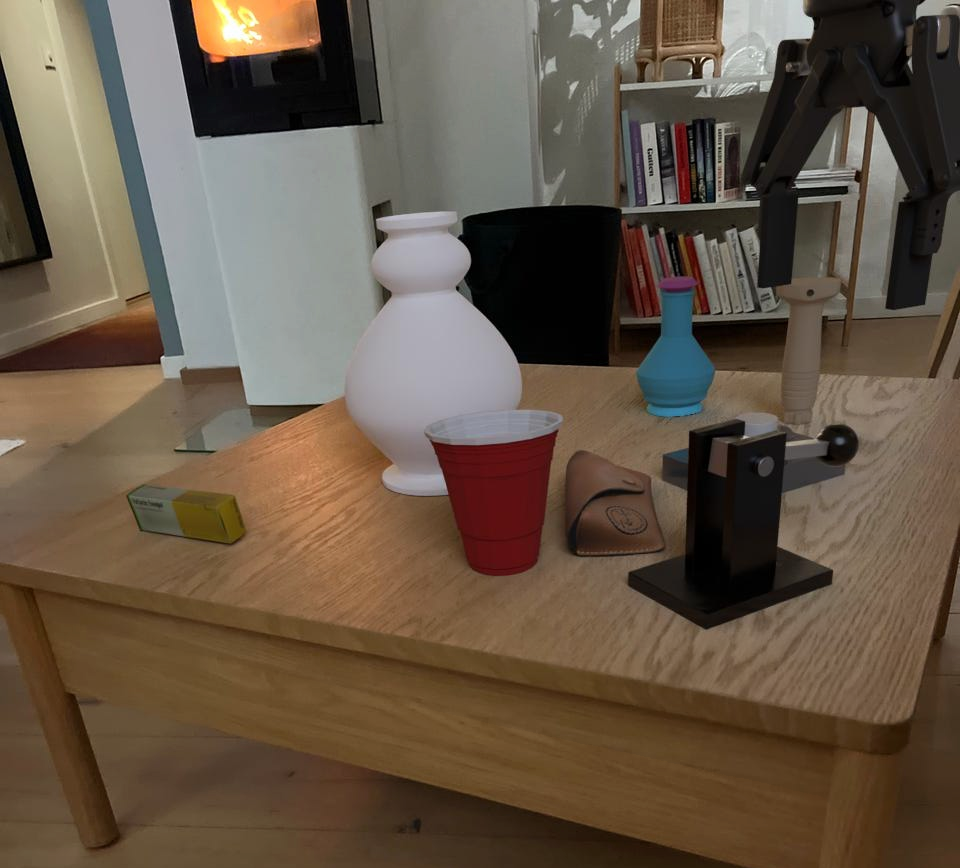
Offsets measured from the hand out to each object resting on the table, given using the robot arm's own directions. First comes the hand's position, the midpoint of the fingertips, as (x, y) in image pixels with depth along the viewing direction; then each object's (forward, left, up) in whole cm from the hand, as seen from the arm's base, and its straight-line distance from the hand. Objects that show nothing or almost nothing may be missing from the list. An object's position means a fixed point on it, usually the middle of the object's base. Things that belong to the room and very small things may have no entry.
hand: (834, 296), depth 68 cm
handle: (-18, -29, -19) cm, 39 cm away
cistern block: (-4, -15, -19) cm, 24 cm away
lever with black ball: (+6, +4, -11) cm, 13 cm away
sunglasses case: (+12, -12, -19) cm, 26 cm away
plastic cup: (+24, -7, -19) cm, 32 cm away
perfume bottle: (-9, -41, -19) cm, 46 cm away
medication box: (+49, -26, -19) cm, 59 cm away
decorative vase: (+23, -31, -19) cm, 43 cm away
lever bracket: (+10, +5, -19) cm, 22 cm away
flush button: (-4, -15, -15) cm, 21 cm away
